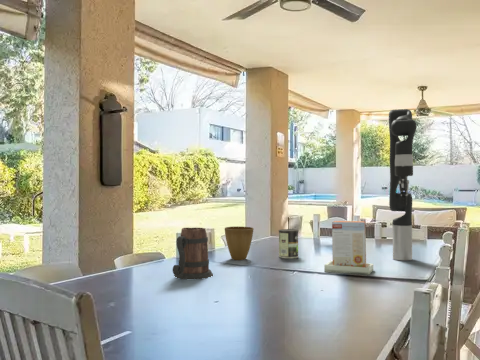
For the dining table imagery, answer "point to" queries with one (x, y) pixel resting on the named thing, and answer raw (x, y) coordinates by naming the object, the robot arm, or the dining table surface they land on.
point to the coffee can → (288, 243)
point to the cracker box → (349, 243)
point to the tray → (348, 269)
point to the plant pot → (238, 241)
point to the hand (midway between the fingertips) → (404, 204)
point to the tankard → (192, 254)
